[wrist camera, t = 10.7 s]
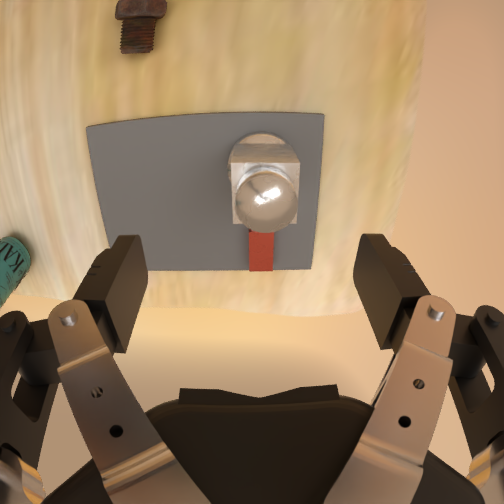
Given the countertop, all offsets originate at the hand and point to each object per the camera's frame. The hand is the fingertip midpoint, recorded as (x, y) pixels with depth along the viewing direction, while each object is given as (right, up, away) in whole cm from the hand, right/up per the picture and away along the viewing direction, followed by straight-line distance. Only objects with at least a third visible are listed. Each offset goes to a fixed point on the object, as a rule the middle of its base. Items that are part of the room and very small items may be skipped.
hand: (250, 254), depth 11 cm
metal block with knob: (+1, +8, +18) cm, 19 cm away
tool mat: (-5, +6, +22) cm, 24 cm away
